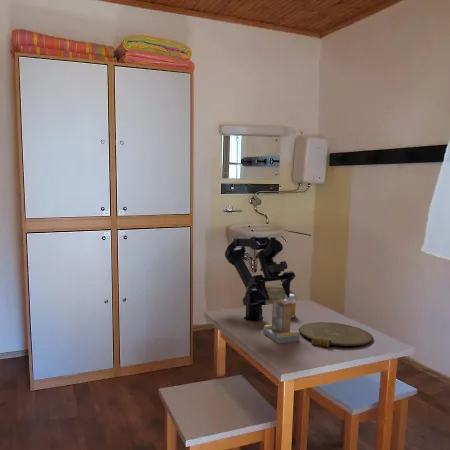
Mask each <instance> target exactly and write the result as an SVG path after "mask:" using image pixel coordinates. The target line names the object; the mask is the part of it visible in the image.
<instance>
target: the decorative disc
mask: <svg viewBox="0 0 450 450" xmlns="http://www.w3.org/2000/svg"><path fill="white" fill-rule="evenodd" d="M298 332H299V334H301V335H302V336H303V337H305V338H307V339H309V340H311V344H312V345H315V346H320V347H326V348H330V347H331V346H339V347H359V346H365V345H368V344H370V343H371V342H372V341H373V340H374V337H373V335H372V334H371V333H370V332H368V331H367V330H364V329H362V328H359V327H357V326H353V325H349V324H344V323H337V322H327V321H326V322H324V321H323V322H322V321H320V322H310V323H309V322H308V323H305V324H302V325H301V326H299V329H298Z"/></svg>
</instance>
